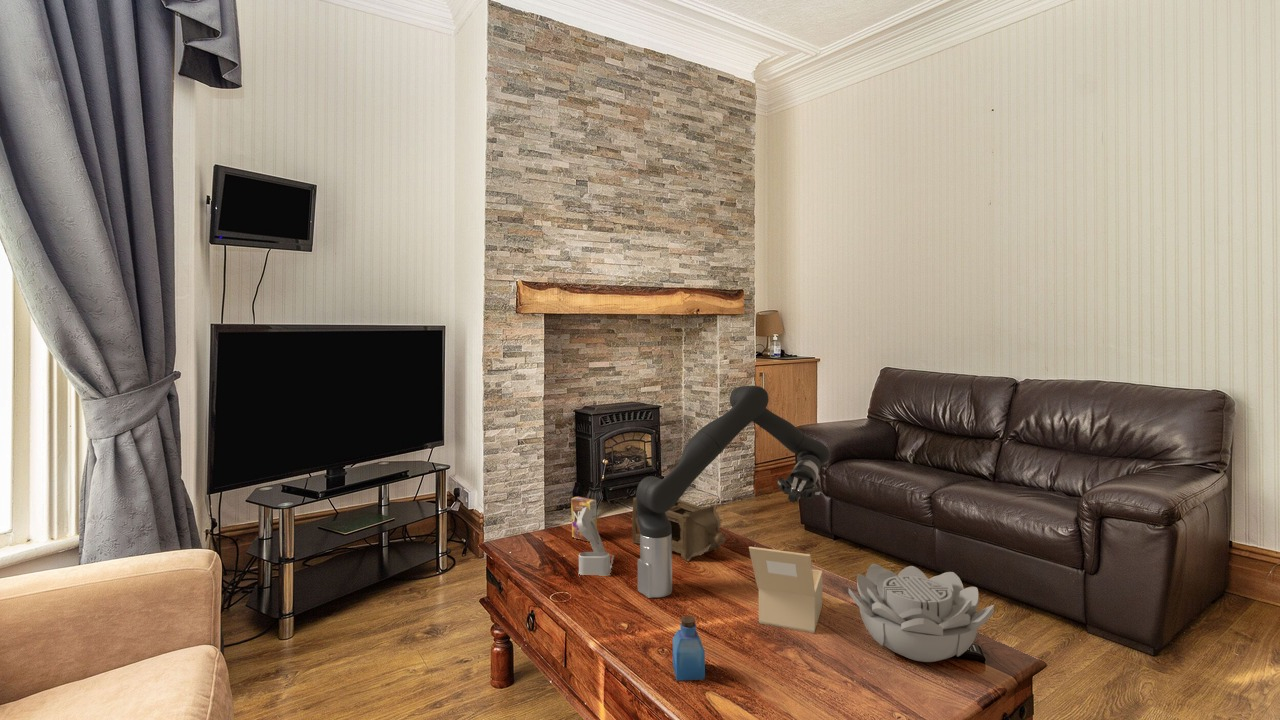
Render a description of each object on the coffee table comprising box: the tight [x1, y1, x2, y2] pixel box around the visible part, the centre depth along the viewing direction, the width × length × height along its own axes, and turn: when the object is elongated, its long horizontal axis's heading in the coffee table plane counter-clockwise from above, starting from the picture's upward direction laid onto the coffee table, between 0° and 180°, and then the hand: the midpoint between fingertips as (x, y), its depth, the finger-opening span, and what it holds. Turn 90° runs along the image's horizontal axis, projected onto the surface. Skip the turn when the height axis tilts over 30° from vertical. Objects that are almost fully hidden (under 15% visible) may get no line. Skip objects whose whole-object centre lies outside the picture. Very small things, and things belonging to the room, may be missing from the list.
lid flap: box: [748, 546, 815, 597], centre depth 149 cm, size 16×14×1 cm
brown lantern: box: [631, 496, 727, 563], centre depth 210 cm, size 35×18×18 cm, turn 44°
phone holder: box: [577, 507, 615, 576], centre depth 196 cm, size 17×10×18 cm, turn 178°
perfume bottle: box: [672, 615, 706, 681], centre depth 135 cm, size 6×6×12 cm
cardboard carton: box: [758, 568, 823, 634], centre depth 162 cm, size 16×14×10 cm
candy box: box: [570, 495, 598, 541], centre depth 221 cm, size 9×4×15 cm, turn 57°
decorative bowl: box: [848, 563, 995, 663], centre depth 143 cm, size 30×30×15 cm
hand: (792, 499), depth 170 cm, fingers closed
